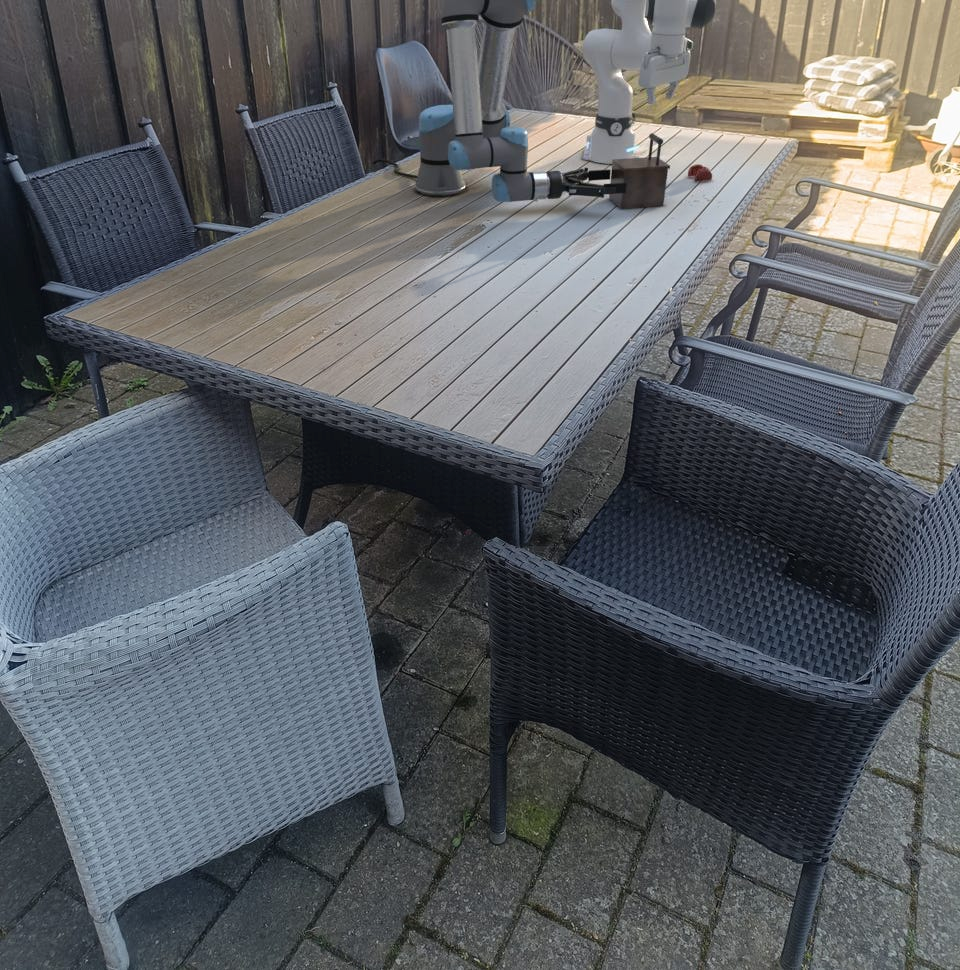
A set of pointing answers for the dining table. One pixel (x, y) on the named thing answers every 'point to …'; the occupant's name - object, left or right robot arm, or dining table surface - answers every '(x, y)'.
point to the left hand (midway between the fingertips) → (617, 180)
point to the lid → (644, 159)
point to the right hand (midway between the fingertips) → (660, 100)
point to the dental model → (700, 173)
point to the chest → (639, 187)
